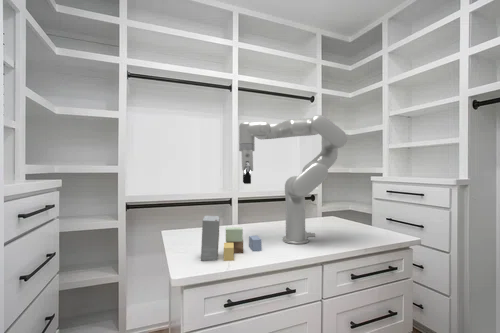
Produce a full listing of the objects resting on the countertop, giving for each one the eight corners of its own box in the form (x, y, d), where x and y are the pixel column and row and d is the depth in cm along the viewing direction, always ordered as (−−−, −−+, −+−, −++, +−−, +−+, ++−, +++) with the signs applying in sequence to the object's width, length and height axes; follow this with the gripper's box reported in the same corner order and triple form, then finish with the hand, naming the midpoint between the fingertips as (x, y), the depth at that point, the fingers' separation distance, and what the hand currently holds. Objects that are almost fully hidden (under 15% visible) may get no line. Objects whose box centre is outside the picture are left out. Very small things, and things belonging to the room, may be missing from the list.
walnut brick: (242, 250, 109) (242, 238, 109) (243, 253, 105) (243, 241, 105) (226, 250, 108) (226, 239, 108) (226, 253, 104) (226, 241, 105)
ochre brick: (224, 254, 103) (224, 242, 103) (233, 254, 104) (233, 242, 104) (223, 261, 96) (223, 247, 96) (233, 260, 97) (233, 247, 97)
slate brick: (249, 246, 114) (248, 235, 114) (257, 246, 115) (257, 235, 115) (253, 251, 107) (253, 239, 108) (261, 251, 108) (261, 239, 108)
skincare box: (202, 254, 104) (202, 215, 104) (219, 253, 105) (220, 215, 105) (200, 261, 96) (200, 219, 96) (219, 260, 96) (219, 219, 96)
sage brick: (242, 238, 109) (242, 227, 109) (242, 241, 105) (242, 229, 105) (225, 239, 108) (225, 227, 108) (225, 241, 104) (225, 229, 105)
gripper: (256, 146, 114) (256, 184, 114) (252, 149, 132) (252, 182, 131) (239, 146, 114) (239, 184, 114) (238, 149, 131) (238, 182, 131)
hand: (246, 183), depth 123 cm, fingers open, 9 cm apart
